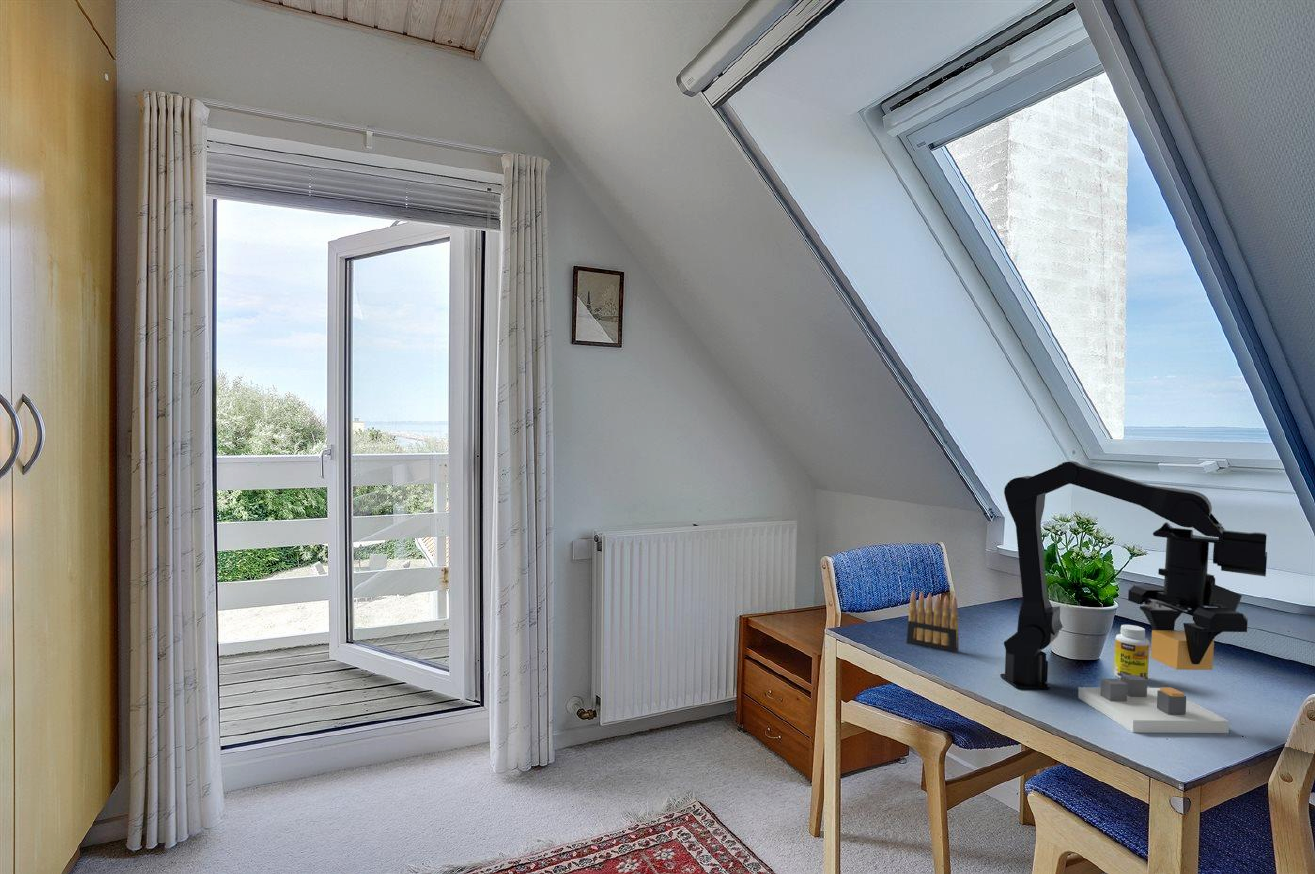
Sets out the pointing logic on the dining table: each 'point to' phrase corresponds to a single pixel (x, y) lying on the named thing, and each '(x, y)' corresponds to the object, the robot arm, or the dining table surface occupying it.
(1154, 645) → the orange block
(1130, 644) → the supplement bottle
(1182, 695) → the block
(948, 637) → the ammunition clip
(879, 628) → the dining table surface
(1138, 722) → the board
